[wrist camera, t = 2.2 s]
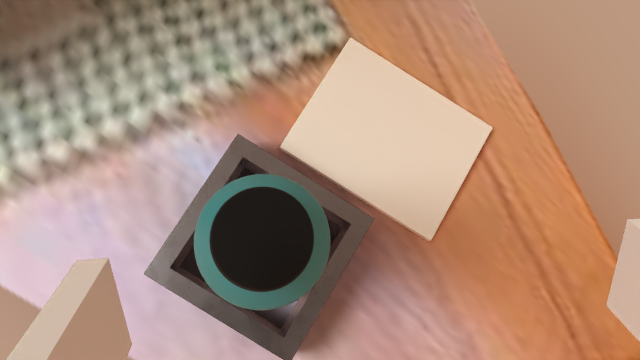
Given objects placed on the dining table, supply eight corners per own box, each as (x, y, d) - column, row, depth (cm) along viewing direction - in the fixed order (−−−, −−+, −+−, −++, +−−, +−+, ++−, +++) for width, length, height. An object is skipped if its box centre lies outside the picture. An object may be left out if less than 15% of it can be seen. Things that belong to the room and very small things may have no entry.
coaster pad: (279, 148, 38) (279, 146, 38) (348, 41, 41) (350, 37, 40) (427, 241, 39) (430, 240, 38) (488, 129, 41) (492, 127, 40)
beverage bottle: (322, 249, 38) (390, 243, 18) (257, 308, 36) (252, 370, 17) (268, 186, 38) (276, 112, 18) (201, 242, 37) (132, 227, 17)
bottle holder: (156, 272, 36) (143, 274, 32) (240, 146, 38) (237, 133, 34) (286, 351, 36) (289, 363, 32) (362, 222, 38) (373, 218, 34)
